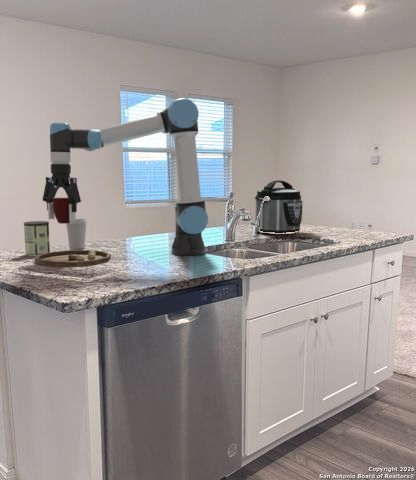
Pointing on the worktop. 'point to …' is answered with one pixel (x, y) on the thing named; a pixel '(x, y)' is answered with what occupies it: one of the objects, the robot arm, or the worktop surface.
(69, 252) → the ring tray
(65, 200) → the mug
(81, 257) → the bead
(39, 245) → the coffee can
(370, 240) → the worktop surface
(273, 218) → the pressure cooker
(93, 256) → the bead
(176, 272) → the worktop surface
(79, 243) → the coffee cup
